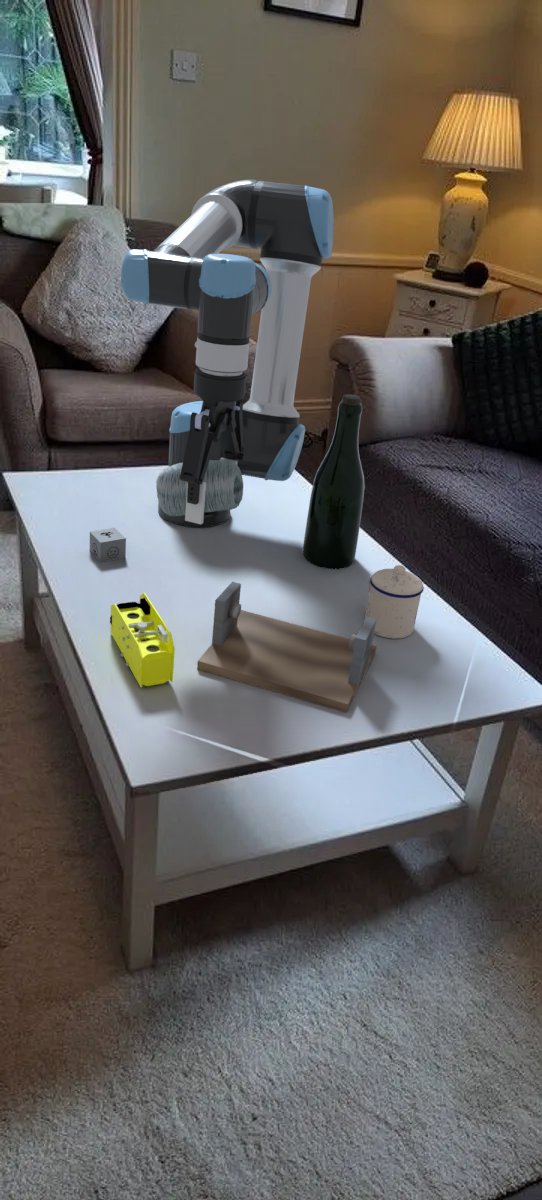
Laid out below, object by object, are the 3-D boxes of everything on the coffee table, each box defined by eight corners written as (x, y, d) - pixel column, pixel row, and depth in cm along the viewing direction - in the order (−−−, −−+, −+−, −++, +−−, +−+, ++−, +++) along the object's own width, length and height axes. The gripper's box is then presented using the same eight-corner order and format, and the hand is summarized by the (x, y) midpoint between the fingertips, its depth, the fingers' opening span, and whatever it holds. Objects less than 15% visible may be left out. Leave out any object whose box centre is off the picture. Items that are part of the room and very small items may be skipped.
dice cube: (114, 551, 165) (114, 527, 162) (125, 562, 161) (125, 538, 159) (89, 555, 162) (89, 531, 160) (100, 567, 159) (100, 542, 156)
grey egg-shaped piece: (242, 490, 141) (224, 435, 136) (258, 511, 133) (238, 453, 128) (165, 521, 140) (143, 466, 135) (175, 544, 132) (153, 486, 127)
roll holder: (240, 617, 147) (244, 568, 143) (375, 653, 141) (384, 603, 137) (197, 668, 132) (200, 615, 128) (346, 712, 126) (356, 658, 122)
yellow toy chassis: (175, 686, 128) (178, 638, 124) (138, 692, 126) (140, 644, 122) (142, 631, 140) (144, 587, 136) (108, 636, 138) (109, 591, 134)
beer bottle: (362, 569, 168) (391, 404, 153) (313, 573, 165) (337, 405, 149) (341, 546, 177) (365, 387, 161) (293, 549, 173) (314, 387, 157)
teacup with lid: (424, 635, 148) (438, 576, 143) (380, 644, 144) (392, 583, 139) (387, 602, 157) (398, 545, 152) (344, 609, 154) (354, 551, 148)
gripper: (229, 351, 136) (219, 482, 146) (159, 380, 116) (153, 528, 126) (274, 360, 134) (260, 492, 144) (210, 390, 114) (199, 541, 124)
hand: (210, 509), depth 135 cm, fingers closed on grey egg-shaped piece, 11 cm apart
